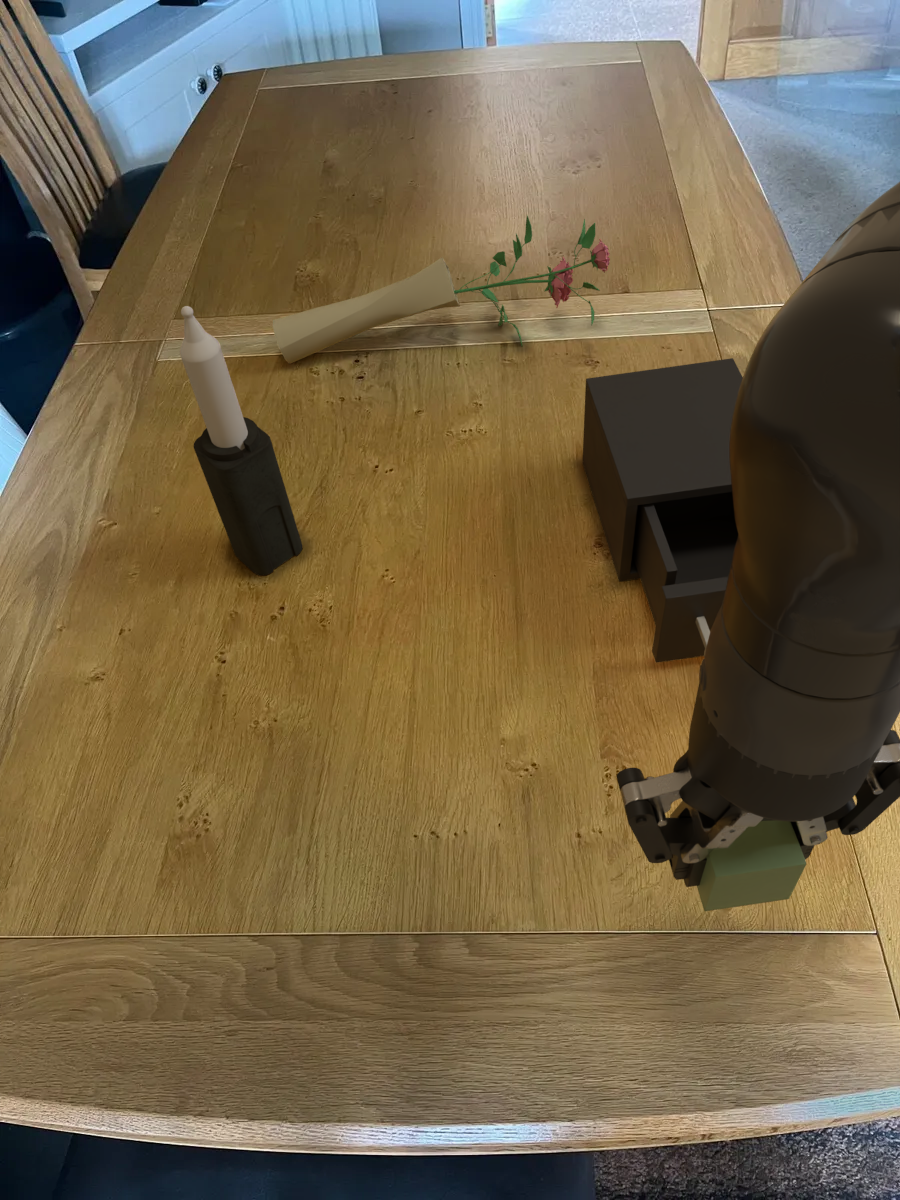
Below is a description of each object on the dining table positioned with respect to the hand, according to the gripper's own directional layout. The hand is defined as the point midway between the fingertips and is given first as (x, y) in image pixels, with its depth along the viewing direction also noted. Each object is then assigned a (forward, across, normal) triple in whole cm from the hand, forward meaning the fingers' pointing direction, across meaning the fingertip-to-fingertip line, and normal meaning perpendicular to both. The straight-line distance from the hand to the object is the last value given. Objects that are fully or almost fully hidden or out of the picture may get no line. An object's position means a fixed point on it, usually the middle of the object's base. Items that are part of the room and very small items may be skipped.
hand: (735, 862), depth 51 cm
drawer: (+10, +7, +25) cm, 28 cm away
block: (0, 0, 0) cm, 0 cm away
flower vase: (+11, -10, +66) cm, 68 cm away
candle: (+11, -29, +39) cm, 49 cm away
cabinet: (+11, +7, +37) cm, 39 cm away
